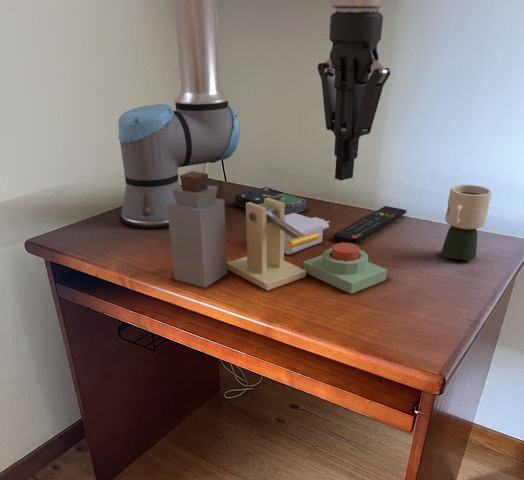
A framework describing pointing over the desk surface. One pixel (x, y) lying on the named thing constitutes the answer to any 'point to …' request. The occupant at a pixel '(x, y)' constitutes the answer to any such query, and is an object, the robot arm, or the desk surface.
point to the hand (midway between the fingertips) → (343, 177)
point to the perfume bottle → (197, 231)
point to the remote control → (368, 225)
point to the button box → (345, 271)
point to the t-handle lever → (287, 228)
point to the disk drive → (257, 197)
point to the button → (345, 251)
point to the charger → (304, 230)
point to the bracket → (265, 250)
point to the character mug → (465, 220)
